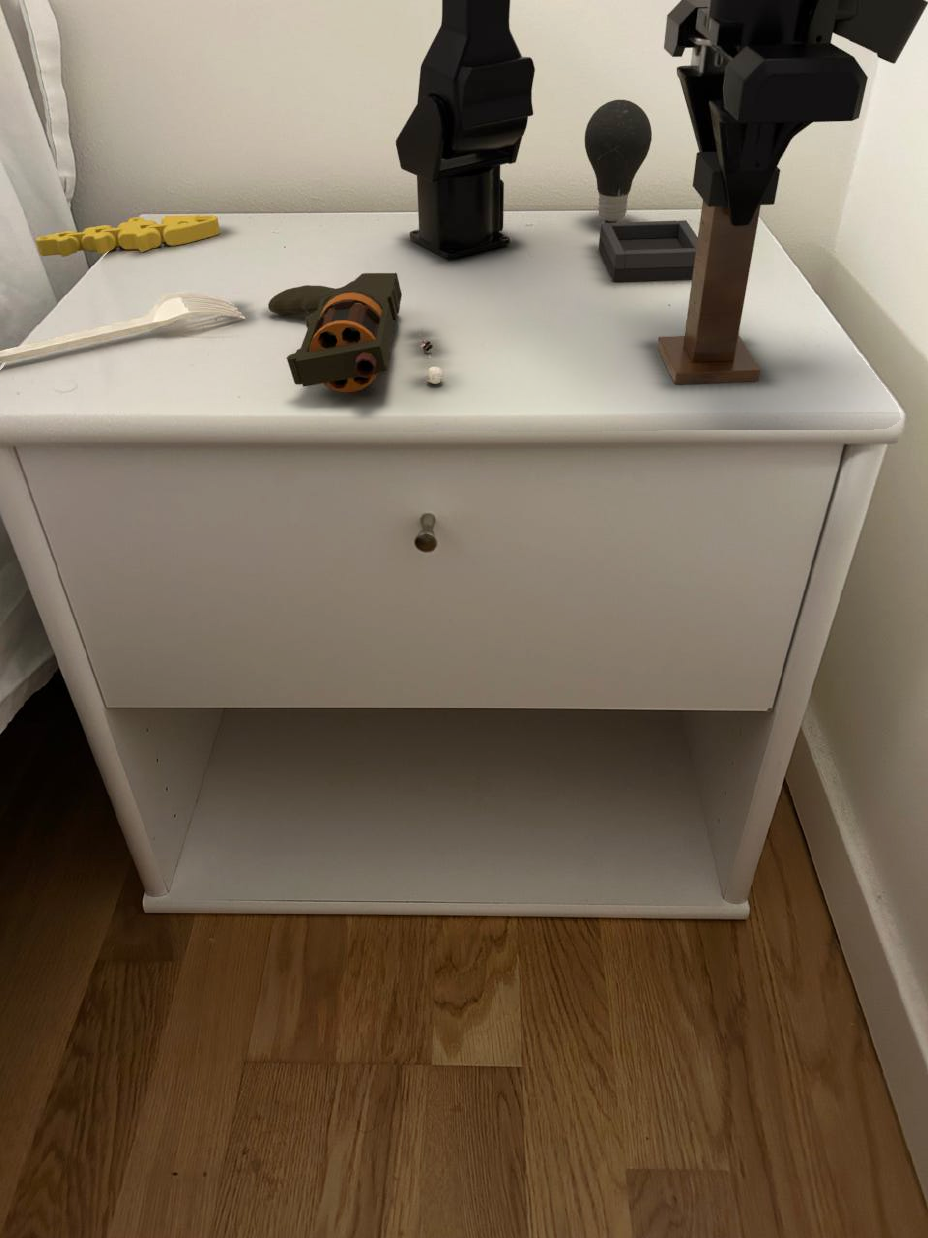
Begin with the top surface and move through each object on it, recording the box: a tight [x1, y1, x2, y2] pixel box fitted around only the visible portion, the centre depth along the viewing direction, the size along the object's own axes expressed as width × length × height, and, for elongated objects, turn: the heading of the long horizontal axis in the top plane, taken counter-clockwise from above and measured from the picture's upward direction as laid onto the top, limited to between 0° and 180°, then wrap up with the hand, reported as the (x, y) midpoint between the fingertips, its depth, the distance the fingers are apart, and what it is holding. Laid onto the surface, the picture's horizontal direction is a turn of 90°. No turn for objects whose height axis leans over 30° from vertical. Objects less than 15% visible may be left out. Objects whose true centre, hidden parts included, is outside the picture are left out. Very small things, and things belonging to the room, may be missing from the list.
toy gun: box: [267, 272, 403, 393], centre depth 69 cm, size 5×17×10 cm
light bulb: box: [584, 99, 653, 223], centre depth 87 cm, size 6×6×10 cm
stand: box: [656, 199, 762, 385], centre depth 65 cm, size 6×6×11 cm
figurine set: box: [417, 333, 444, 385], centre depth 69 cm, size 1×8×1 cm
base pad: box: [598, 219, 698, 283], centre depth 82 cm, size 7×7×2 cm
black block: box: [692, 151, 781, 207], centre depth 61 cm, size 4×4×2 cm
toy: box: [35, 214, 221, 258], centre depth 87 cm, size 15×1×5 cm
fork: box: [0, 291, 246, 364], centre depth 71 cm, size 3×20×2 cm, turn 120°
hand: (729, 211), depth 62 cm, fingers open, 4 cm apart
